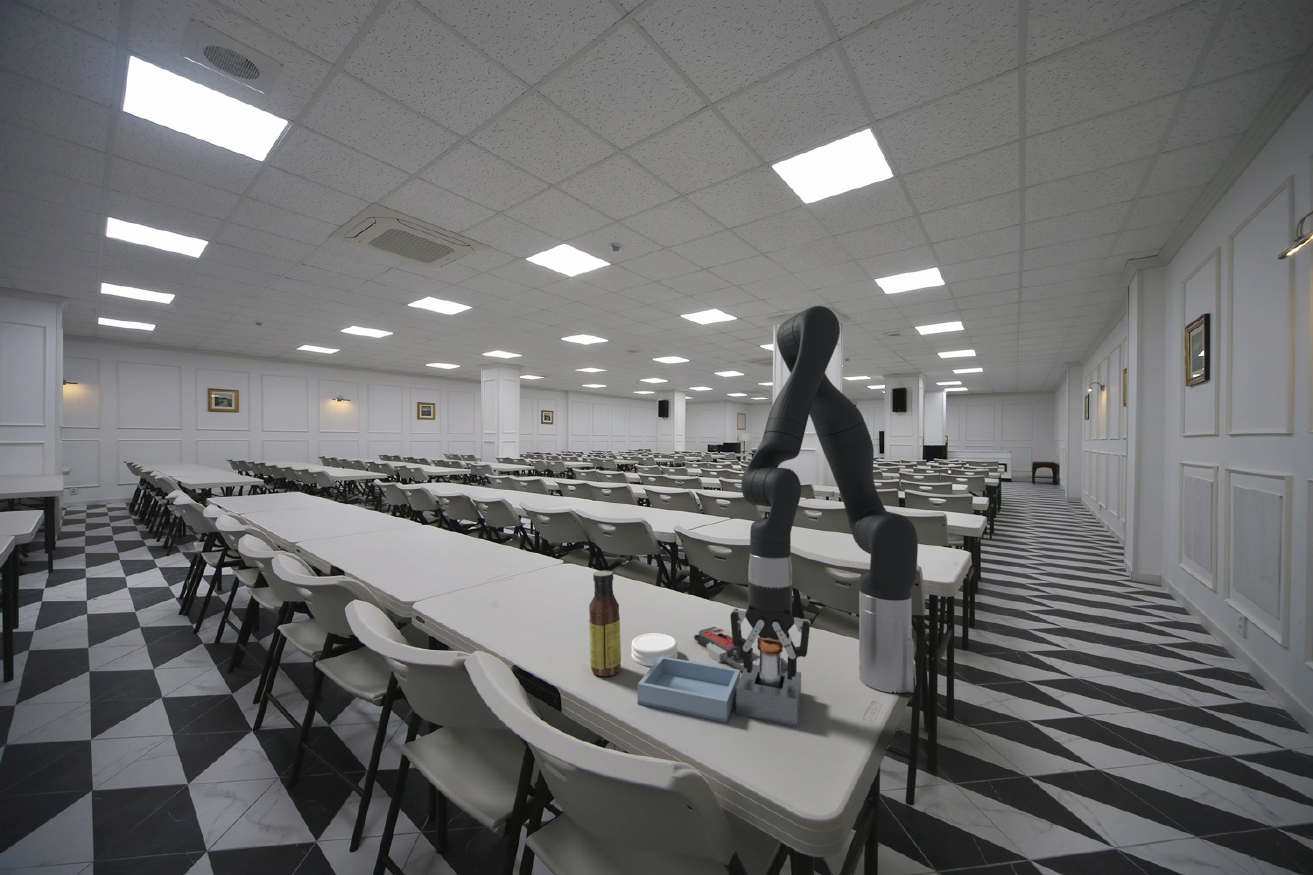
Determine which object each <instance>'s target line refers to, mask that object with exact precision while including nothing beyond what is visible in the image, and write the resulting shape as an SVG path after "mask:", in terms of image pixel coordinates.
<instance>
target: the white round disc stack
mask: <svg viewBox="0 0 1313 875" xmlns="http://www.w3.org/2000/svg"><path fill="white" fill-rule="evenodd" d="M630 650H631V659H632V660H633V661H634V662H635V663H637V664H639V665H642V666H645V667H652V666H653V665H654V664H655V663H656V661H657V660H658V659H659V658H660V657H661V656H663V657H668V658H674V659H678V641H677V640H676V639H675V638H674V637H672V636H671V635H668V634H664V633H658V632H657V633H655V632H654V633H653V632H651V633H649V632H648V633H644V634H641V635H638V636H636V637H634V639H633V640H631V649H630Z"/></svg>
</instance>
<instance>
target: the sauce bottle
mask: <svg viewBox="0 0 1313 875" xmlns="http://www.w3.org/2000/svg"><path fill="white" fill-rule="evenodd" d="M592 576H593V578H592V579H593V582H594V596H593V598H592V599H591V602H590V603H589V607H588V609H589V611H588V612H589V620H588V621H589V623H588V624H589V626H588V628H589V660H590V662H589V664H590V670H591V672H592V673H593V675H595V676H597V675H598V677H599V676H600V677H611V676H614V675H616V674H618V673H619V672H620V671H621V667H622V665H621V661H622V651H621V650H622V648H621V647H622V646H621V618H620V617H621V616H620V605H619V602H618V601H617V599H616V597H615V595H614V590H613V589H614V586H613V584H614V583H613V581H614V572H613V571H611V570H599V571H596V572H594V573H593V575H592Z"/></svg>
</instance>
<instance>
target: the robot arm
mask: <svg viewBox="0 0 1313 875" xmlns="http://www.w3.org/2000/svg"><path fill="white" fill-rule="evenodd" d="M840 334H841V326H840V323H839V319H838V317H837V316H836V313H834V312H833V311H832V310H831V309H830V308H828V307H826V306H823V305H814V306H811V307H809V308H806V309H804V310H802V311H800V312H799V313H797V314H795V315H794V316H792V317H790V318H788V319H787V320H785V321H784V322H782V323H781V324H780V325H779V326H778V329H777V332H776V343H777V347H778V348H777V349H778V351H779V354H780V355H781V358H782V359H783V362H784V363H785V366H786V368H787V369H788V371H789V376H788V378H787V380H786V381H785V384H784V385H783V386H782V388H781V390H780V392H779V393H778V395H776V398H775V400H774V402H773V403H772V404H773V405H772V406H771V408H770V412H768V413H769V414H768V417H767V421H766V424H765V428H764V431H763V435H762V440H761V442H760V444H759V445H758V447H757V448H756V450H755V452H754V454H753V455H752V457H751V459H750V461H749V463H748V464H747V466H746V468H745V470H744V473H743V474H742V478H741V485H740V486H741V487H740V488H741V493H742V496H743V498H744V499H745V501H746V502H748V503H749V504H751V505H754V506H762V507H769V508H770V510H769V514H768V517H767V518H764V519H761V518H760V519H757V520H755V521H753V522H752V524H751V525H750V533H749V534H750V535H749V543H750V544H749V545H750V546H749V559H748V560H749V561H748V572H747V578H748V592H747V593H748V594H747V595H748V600H747V601H748V605H747V610H739V609H738V608H734V609H733V610H732V611H731V614H730V626H731V627H730V628H731V632H732V640H733V645H734V646H736V647H737V646H738V647H740V648H742V649H743V657H742V658H743V663H742V664H743V665H742V666H744V668H745V669H747V672H748V673H751V672H752V669H753V663H754V662H753V661H754V660H753V659H754V652H753V651H754V647H752V646H753V645H754V643H755V642H756V640H757V639H758V637H760V638H771V639H773V640H778V639H780V641H781V643H782V645H783V649H785V651H786V654H787V663H788V669H787V679H789V680H792V677H795V675H796V672H798V671H797V662H798V660H797V659H798V658H800V657H802V658H805V657H806V656H807V655H808V646H809V638H810V628H811V619H810V618H809V617H805V618H799V617H795V615H794V613H793V598H792V597H793V565H792V558H791V557H792V556H791V551H792V550H791V535H792V534H791V533H792V529H793V524H794V521H795V518H796V515H797V510H798V507H799V503H800V501H801V496H802V485H801V480H800V478H799V476H798V475H797V473H796V472H795V471H794V470H792V469H791V468H786V467H779V466H780V465H781V464H782V463H785V462H786V461H790V460H794V459H796V458H797V457H798V456H799V454H800V451H801V449H802V445H803V441H804V436H805V433H806V430H807V429H806V428H807V425H808V421H809V416H810V420H811V422H812V424H813V427H814V430H815V433H816V436H817V439H818V440H819V444H820V446H821V450H822V452H823V454H824V456H825V458H826V460H827V463H828V465H829V468H830V470H831V473H832V476H833V478H834V481H835V483H836V485H837V489H838V490H839V494H840V496H841V498H842V502H843V506H844V509H845V512H846V516H847V520H848V524H849V528H850V531H851V534H852V538H853V539H854V542H855V543H856V544H857V546H858V547H859V548H860V549H861V550H862V551H864V552H865V553H867V554H869V555H870V565H869V570H868V572H866V573H863V574H862V575H861V576H860V578H859V583H858V584H859V585H858V586H859V589H858V590H859V593H858V594H859V596H858V597H859V598H858V599H859V601H858V602H859V606H858V607H859V609H858V610H859V614H858V615H859V616H858V617H859V618H858V619H859V624H858V626H859V628H858V629H859V630H858V631H859V636H858V637H859V656H858V657H859V658H858V659H859V660H858V661H859V665H858V671H859V679H860V681H861V682H862V683H864V684H865V685H867V686H868V687H870V688H872V689H874V690H877V691H880V692H885V693H891V694H901V693H902V694H903V693H915V685H914V684H915V682H914V681H915V679H914V675H915V671H914V669H915V668H914V667H915V666H914V665H915V664H914V662H915V659H914V658H915V656H914V655H915V654H914V650H915V649H914V643H915V642H914V639H913V638H912V590H913V588H914V585H915V583H916V579H917V568H918V552H919V551H918V547H919V546H918V544H919V542H918V534H917V533H918V532H917V530H916V528H915V525H914V524H913V522H912V520H910V519H909V518H908V517H906V516H904V515H902V514H899V513H895V512H891V511H887V510H886V508H885V506H884V504H883V502H882V500H881V498H880V496H879V493H878V491H877V487H876V484H875V480H874V459H875V458H874V456H875V455H874V453H875V452H874V444H873V441H872V437H871V434H870V431H869V428H868V426H867V423H866V421H865V419H864V416H863V414H862V412H861V411H860V409H859V408H858V407H857V406H856V405H855V404H854V403H853V402H852V401H851V400H850V399H849V398H848V397H847V396H846V395H845V394H843V392H841V391H840V390H839V389H838V388H837V387H836V386H835V385H834V384H833V382H832V381H830V379H829V378H828V376H827V374H826V370H827V368H828V367H829V364H830V361H831V359H832V357H833V354H834V352H835V349H836V348H837V345H838V342H839V340H840ZM744 619H746V620H747V621H748V624H749V625H750V626H751V631H750V633H749V634H748V636H747V638H746V639H745V638H744V637H742V625H741V624H742V623H743V622H744ZM793 626H796V629H797V632H798V633H801V636H800V643H799V644H800V645H798V646H795V643H794V641H793V639H792V636H791V634H790V632H789V631H790V629H792V627H793ZM892 692H894V693H892ZM896 692H897V693H896Z"/></svg>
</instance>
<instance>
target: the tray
mask: <svg viewBox="0 0 1313 875" xmlns="http://www.w3.org/2000/svg"><path fill="white" fill-rule="evenodd" d="M650 667H651V666H650ZM740 678H741V669H740V670H739V669H737V668H731V667H724V666H720V665H719V666H718V665H714V664H707V663H703V662H702V663H701V662H696V661H690V660H685V659H679V658H677V659H674V658H668V657H663V656H661V657H660V658H659V659H658V660H657V661H656V663H655V664H654V665H653V666H652V667H651V668H649V670H648V671H647V672H646V673H645V675H644V676H643V677H642V678H641V679H640V681H639V682H638V683H637V704H638V705H641V706H646V707H650V708H656V709H660V710H665V711H670V712H674V713H678V714H684V715H686V716H687V715H688V716H692V717H698V718H701V719H707V720H710V721H711V720H712V721H716V722H719V723H726V724H727V723H728V721H729V719H730V715H731V713H732V710H733V707H734V705H735V704H736V688H737V685H738V683H739V680H740Z"/></svg>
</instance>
